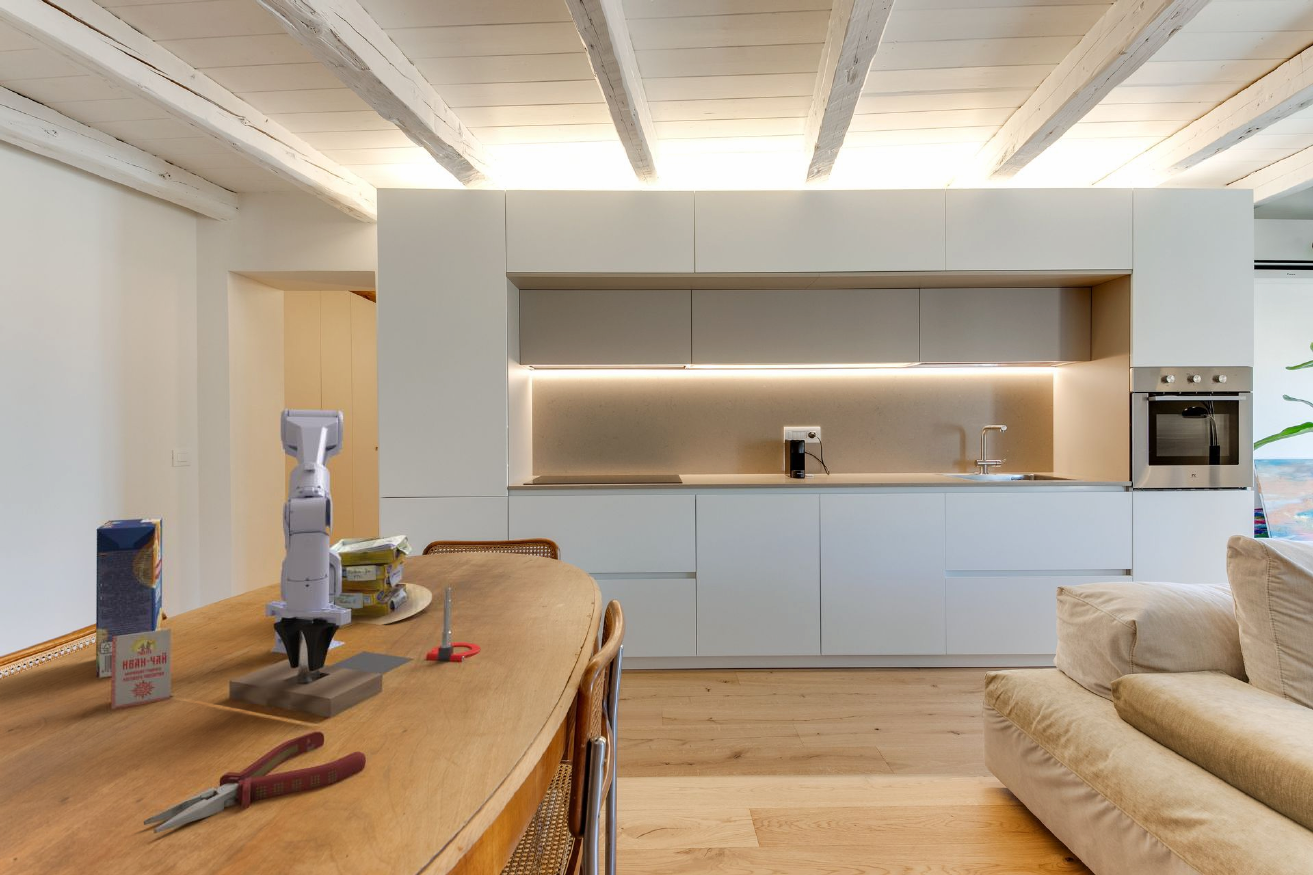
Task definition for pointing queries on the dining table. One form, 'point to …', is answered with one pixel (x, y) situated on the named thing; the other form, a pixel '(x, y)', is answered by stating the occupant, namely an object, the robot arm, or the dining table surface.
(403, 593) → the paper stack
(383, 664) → the mat
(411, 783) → the dining table surface
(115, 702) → the tea bag
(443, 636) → the tow hook
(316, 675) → the peg
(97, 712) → the dining table surface
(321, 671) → the hole block
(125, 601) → the juice carton
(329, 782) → the pliers
